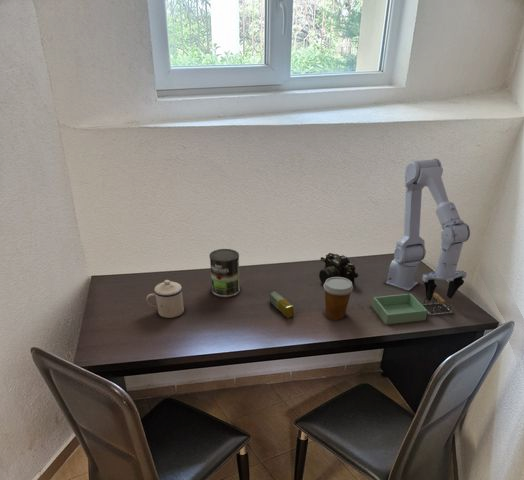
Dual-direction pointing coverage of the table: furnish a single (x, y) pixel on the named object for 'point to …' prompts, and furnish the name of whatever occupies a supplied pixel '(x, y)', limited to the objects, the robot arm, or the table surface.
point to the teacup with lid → (168, 299)
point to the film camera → (337, 268)
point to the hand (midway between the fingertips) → (438, 298)
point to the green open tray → (399, 308)
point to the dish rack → (438, 303)
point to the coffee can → (225, 272)
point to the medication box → (281, 304)
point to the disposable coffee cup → (337, 296)
